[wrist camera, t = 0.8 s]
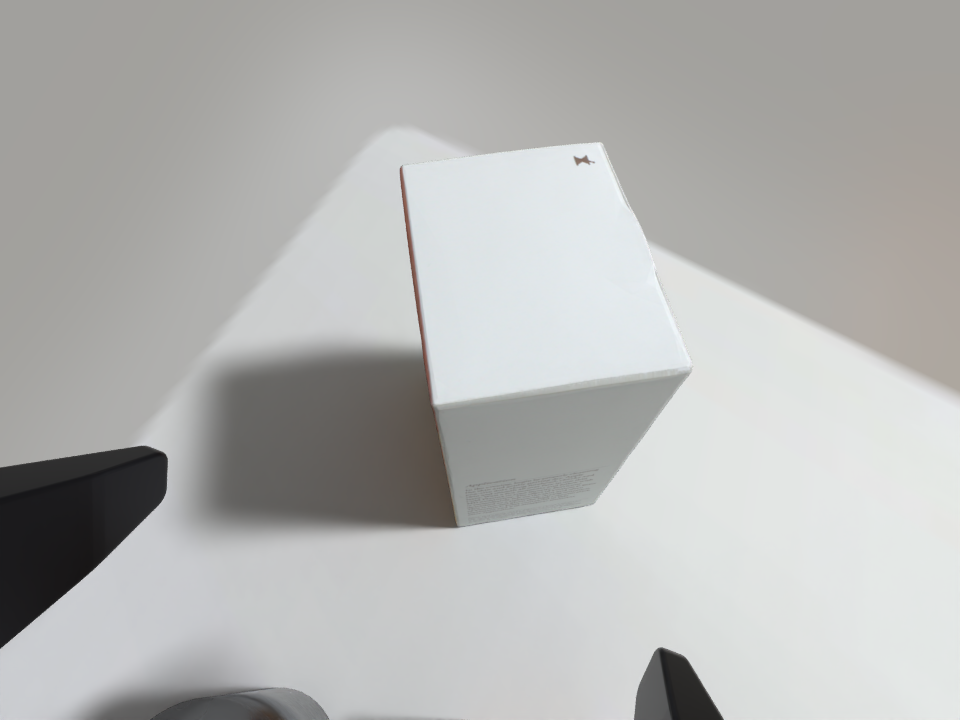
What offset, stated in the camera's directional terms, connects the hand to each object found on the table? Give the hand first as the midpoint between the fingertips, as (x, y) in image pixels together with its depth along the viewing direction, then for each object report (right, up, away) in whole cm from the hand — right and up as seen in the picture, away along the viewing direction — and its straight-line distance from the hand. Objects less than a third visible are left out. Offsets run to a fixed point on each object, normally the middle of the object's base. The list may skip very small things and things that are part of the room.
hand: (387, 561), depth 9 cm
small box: (+3, 0, +16) cm, 17 cm away
